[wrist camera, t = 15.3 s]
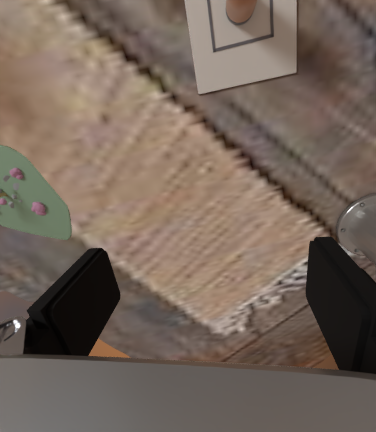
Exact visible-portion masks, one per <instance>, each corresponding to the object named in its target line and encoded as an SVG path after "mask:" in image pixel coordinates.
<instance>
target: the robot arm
mask: <svg viewBox="0 0 376 432" xmlns="http://www.w3.org/2000/svg"><path fill="white" fill-rule="evenodd" d="M336 233H337V237H338V240H339V242H340V243H341V244H342V245H343V246H344V247H345V248H346V249H347V250H348V251H350V252H352V253H354V254H358V255H363V256H366V257H367V258H368V259H369V260H370V261H371V262H373V263H374V264H375V265H376V194H371V195H368V196H365V197H363V198H360V199H358V200H357V201H355V202H354V203H352V204H351V205H350V206H349V207H347V208H346V210H345V211H344V212H343V213H342V215H341V216H340V218H339V220H338V223H337V227H336ZM306 297H307V301H308V303H309V305H310V307H311V309H312V311H313V314H314V316H315V318H316V320H317V322H318V325H319V327H320V329H321V331H322V333H323V335H324V338H325V340H326V342H327V344H328V346H329V349H330V351H331V353H332V355H333V357H334V359H335V362H336V364H337V366H338V368H339V370H332V369H320V368H306V367H292V366H276V365H258V364H239V363H221V362H203V361H183V360H163V359H142V358H121V357H97V356H88V355H89V353H90V352H91V350H92V348H93V346H94V344H95V343H96V341H97V339H98V337H99V336H100V334H101V332H102V330H103V329H104V327H105V325H106V323H107V321H108V320H109V318H110V316H111V314H112V313H113V311H114V309H115V307H116V306H117V304H118V302H119V300H120V291H119V288H118V285H117V282H116V279H115V276H114V273H113V269H112V266H111V263H110V260H109V257H108V254H107V252H106V251H104V250H103V249H102V248H91V249H88V250H87V251H86V252H85V253H84V254H83V255H82V256H81V257H80V258H79V259H78V260H77V261H76V262H75V263H74V264H73V265H72V266H71V267H70V268H69V269H68V270H67V271H66V272H65V273H64V274H63V275H62V276H61V277H60V278H59V279H58V280H57V281H56V282H55V283H54V284H53V285H52V286H51V287H50V288H49V289H48V290H47V291H46V292H45V293H44V294H43V295H42V296H41V297H40V298H39V299H38V300H37V301H36V302H35V303H34V304H33V305H32V306H31V307H30V308H29V309H28V310H27V312H28V314H29V316H30V317H29V318H28V319H27V320H26V319H25V318H24V317H21V316H17V317H12V318H9V319H6V320H4V321H2V322H0V432H376V282H375V281H374V280H373V279H372V278H371V277H370V276H369V275H368V274H367V273H366V271H364V270H363V269H362V268H360V267H359V266H358V265H357V264H356V263H355V262H354V261H353V260H352V259H351V258H350V256H349V255H348V254H347V253H346V252H345V251H344V250H343V249H342V248H341V246H340V245H339V244H338V243H337V242H336V241H335V240H334V239H333V238H332V237H316V238H315V239H314V241H310V244H309V256H308V269H307V281H306Z"/></svg>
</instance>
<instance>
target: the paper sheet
mask: <svg viewBox="0 0 376 432" xmlns="http://www.w3.org/2000/svg"><path fill="white" fill-rule="evenodd" d="M185 6H186V13H187V20H188V27H189V33H190V40H191V47H192V54H193V60H194V67H195V74H196V81H197V87H198V94H203V93H208V92H212V91H216V90H221V89H225V88H230V87H234V86H239V85H243V84H248V83H252V82H257V81H261V80H266V79H270V78H275V77H279V76H284V75H288V74H293V73H296V66H297V0H257V3H256V6H255V9H254V12H253V14H252V16H251V18H250V19H249V20H248V21H247V22H246V23H245V24H243V25H234V24H232V23H231V22H230V21H229V20H228V18H227V16H226V0H185Z"/></svg>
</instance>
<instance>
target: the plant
mask: <svg viewBox="0 0 376 432" xmlns="http://www.w3.org/2000/svg"><path fill="white" fill-rule="evenodd" d="M0 225H2V226H4V227H8V228H12V229H16V230H19V231H23V232H27V233H30V234H36V235H41V236H46V237H52V238H57V239H63V240H68V239H69V238H70V236H71V232H72V227H71V219H70V214H69V210H68V207H67V205H66V204H65V203H64V201H63V200H62V199H61V198H60V197H59V195H58V194H57V193H56V192H55V191H54V190H53V188H52V187H51V186H50V185H49V184H48V182H47V181H46V180H45V179H44V178H43V177H42V175H41V174H40V173H39V172H38V171H37V169H36V168H35V167H34V166H33V165H32V164H31V162H30V161H29V160H28V159H27V158H26V157H25V156H23V155H22V154H21V153H19V152H17V151H15V150H14V149H12V148H10V147H7V146H2V145H0Z"/></svg>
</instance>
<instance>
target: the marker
mask: <svg viewBox="0 0 376 432" xmlns="http://www.w3.org/2000/svg"><path fill="white" fill-rule="evenodd" d="M256 3H257V0H226V16H227V18H228V20H229V21H230V22H231V23H232V24H234V25H243V24H245V23H246V22H247V21H248V20H249V19H250V18H251V16H252V14H253V12H254V9H255V6H256Z"/></svg>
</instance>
